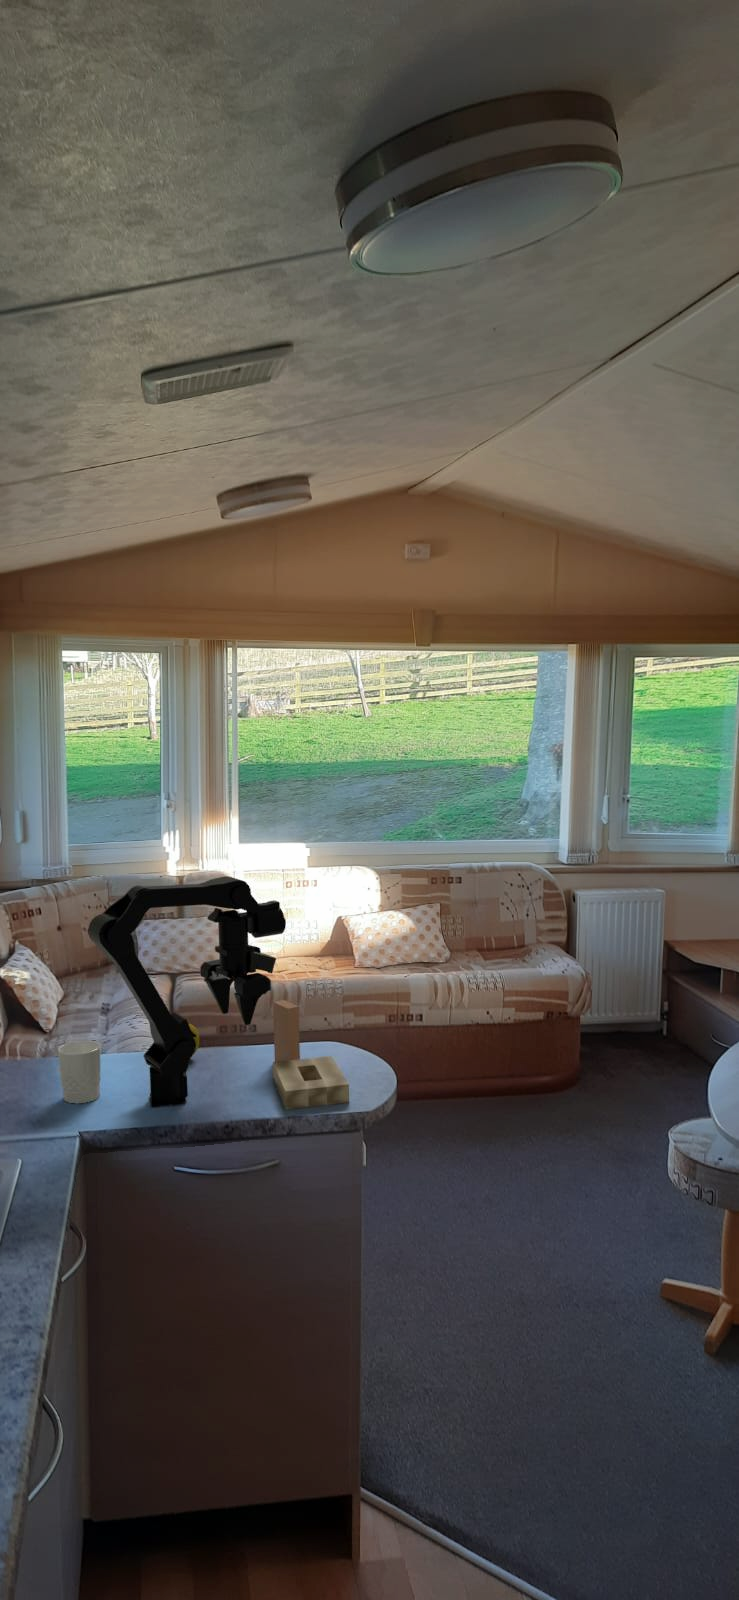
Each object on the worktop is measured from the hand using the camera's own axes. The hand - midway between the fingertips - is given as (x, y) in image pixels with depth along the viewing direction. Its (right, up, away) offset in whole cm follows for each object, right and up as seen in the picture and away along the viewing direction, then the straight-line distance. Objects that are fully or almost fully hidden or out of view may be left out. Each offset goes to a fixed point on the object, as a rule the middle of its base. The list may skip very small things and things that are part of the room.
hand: (236, 1019), depth 204 cm
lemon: (-13, -12, +16) cm, 23 cm away
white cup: (-29, -14, -5) cm, 33 cm away
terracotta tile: (+9, -12, +11) cm, 18 cm away
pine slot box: (+15, -13, -3) cm, 20 cm away
